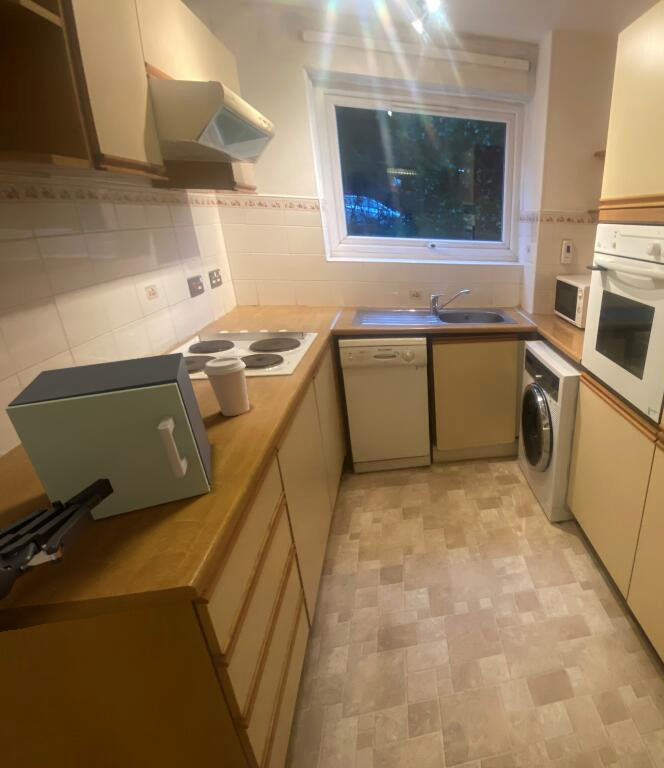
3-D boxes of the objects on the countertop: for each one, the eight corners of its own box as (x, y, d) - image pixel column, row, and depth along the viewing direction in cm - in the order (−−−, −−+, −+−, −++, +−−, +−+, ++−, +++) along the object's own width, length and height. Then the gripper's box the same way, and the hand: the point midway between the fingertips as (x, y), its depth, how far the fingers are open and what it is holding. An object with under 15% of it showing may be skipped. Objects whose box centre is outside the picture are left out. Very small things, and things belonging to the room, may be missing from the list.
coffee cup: (261, 403, 126) (249, 354, 120) (248, 418, 117) (235, 366, 112) (225, 406, 124) (211, 356, 119) (209, 421, 116) (194, 368, 110)
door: (207, 509, 82) (170, 396, 73) (50, 550, 72) (-15, 424, 63) (210, 490, 88) (176, 382, 79) (65, 525, 78) (7, 406, 69)
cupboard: (210, 486, 89) (177, 378, 80) (65, 525, 78) (7, 405, 69) (211, 447, 103) (182, 352, 94) (88, 476, 92) (42, 371, 83)
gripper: (-94, 626, 53) (75, 504, 75) (17, 622, 54) (153, 502, 76) (-128, 580, 50) (58, 467, 72) (-10, 577, 51) (139, 465, 73)
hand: (106, 485), depth 74 cm, fingers closed
